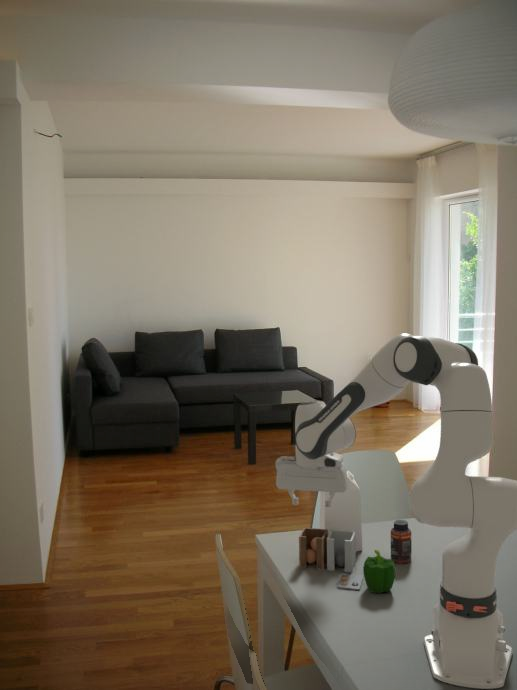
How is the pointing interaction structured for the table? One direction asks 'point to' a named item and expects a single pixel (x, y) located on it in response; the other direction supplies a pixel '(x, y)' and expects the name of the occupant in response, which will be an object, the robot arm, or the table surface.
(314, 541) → the loose ball
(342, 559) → the tube ball charcoal
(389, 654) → the table surface
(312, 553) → the tube ball terracotta
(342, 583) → the card
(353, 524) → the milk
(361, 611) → the table surface
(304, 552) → the walnut tube
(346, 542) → the grey tube
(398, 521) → the supplement bottle
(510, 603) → the table surface
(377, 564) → the bell pepper
